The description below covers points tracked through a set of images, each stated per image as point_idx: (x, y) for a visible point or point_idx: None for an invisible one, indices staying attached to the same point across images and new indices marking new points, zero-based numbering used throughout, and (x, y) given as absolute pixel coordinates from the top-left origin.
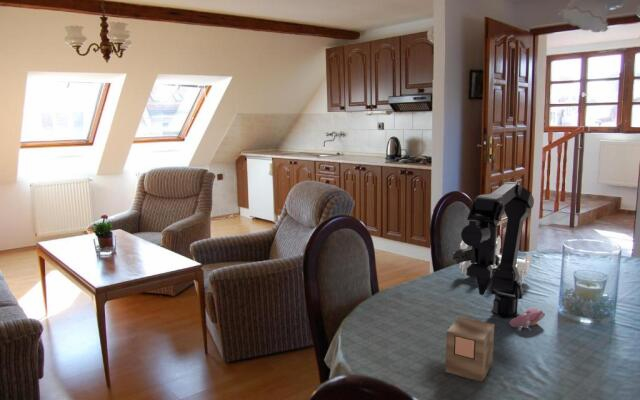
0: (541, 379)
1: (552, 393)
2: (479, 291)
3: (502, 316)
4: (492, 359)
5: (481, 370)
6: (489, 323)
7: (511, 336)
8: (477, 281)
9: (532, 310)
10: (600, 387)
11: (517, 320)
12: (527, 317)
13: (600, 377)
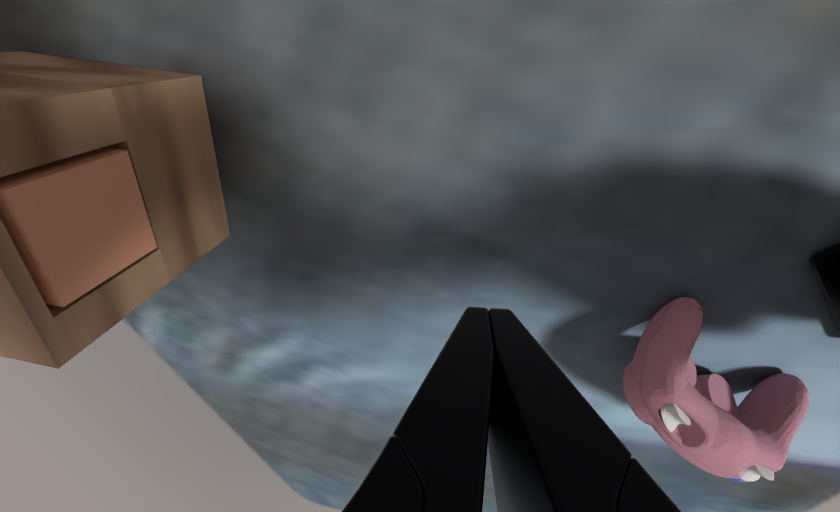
0: (239, 365)
1: (187, 380)
2: (454, 336)
3: (820, 262)
4: (214, 245)
5: None
6: (42, 344)
7: (540, 297)
8: (349, 505)
9: (710, 460)
10: (293, 463)
11: (652, 356)
12: (641, 416)
13: (344, 473)
